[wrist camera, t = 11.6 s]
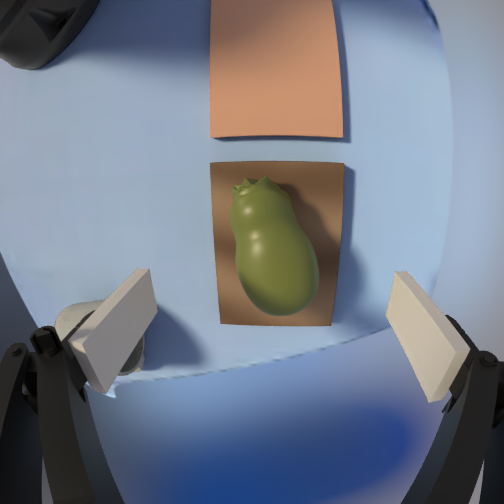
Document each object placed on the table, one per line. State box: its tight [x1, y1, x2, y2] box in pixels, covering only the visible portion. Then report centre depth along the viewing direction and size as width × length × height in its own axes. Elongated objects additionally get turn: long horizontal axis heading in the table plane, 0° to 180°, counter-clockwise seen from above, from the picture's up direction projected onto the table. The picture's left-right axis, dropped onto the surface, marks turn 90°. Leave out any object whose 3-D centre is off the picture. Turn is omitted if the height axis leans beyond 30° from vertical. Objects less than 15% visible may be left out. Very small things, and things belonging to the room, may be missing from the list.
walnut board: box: [210, 161, 344, 326], centre depth 22 cm, size 14×10×1 cm
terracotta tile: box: [210, 0, 343, 138], centre depth 17 cm, size 14×10×1 cm
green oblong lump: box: [230, 175, 319, 316], centre depth 19 cm, size 6×5×10 cm
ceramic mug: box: [54, 300, 145, 376], centre depth 25 cm, size 11×8×8 cm
